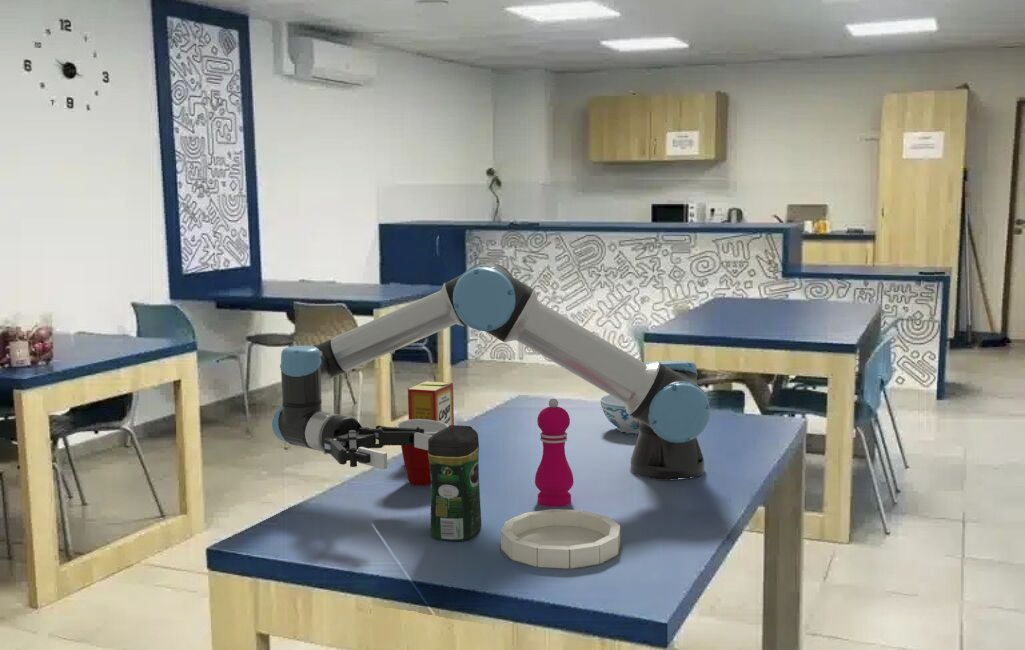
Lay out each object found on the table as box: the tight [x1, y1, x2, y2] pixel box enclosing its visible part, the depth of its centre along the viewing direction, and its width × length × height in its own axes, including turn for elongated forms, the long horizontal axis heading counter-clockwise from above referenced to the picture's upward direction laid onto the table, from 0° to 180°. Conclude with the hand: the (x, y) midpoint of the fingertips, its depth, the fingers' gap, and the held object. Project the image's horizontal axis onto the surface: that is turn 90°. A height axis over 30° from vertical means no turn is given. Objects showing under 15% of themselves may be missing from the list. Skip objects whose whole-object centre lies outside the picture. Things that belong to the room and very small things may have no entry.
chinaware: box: [599, 394, 639, 434], centre depth 238 cm, size 15×15×8 cm
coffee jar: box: [428, 424, 482, 543], centre depth 166 cm, size 10×8×19 cm
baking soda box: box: [407, 380, 455, 426], centre depth 218 cm, size 10×6×16 cm
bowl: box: [500, 508, 621, 570], centre depth 160 cm, size 19×19×3 cm
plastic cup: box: [395, 419, 449, 487], centre depth 198 cm, size 11×11×12 cm
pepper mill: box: [534, 398, 575, 508], centre depth 182 cm, size 7×7×20 cm
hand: (414, 453), depth 172 cm, fingers open, 13 cm apart
